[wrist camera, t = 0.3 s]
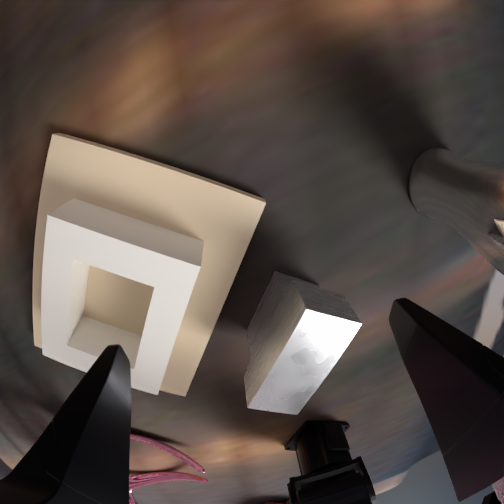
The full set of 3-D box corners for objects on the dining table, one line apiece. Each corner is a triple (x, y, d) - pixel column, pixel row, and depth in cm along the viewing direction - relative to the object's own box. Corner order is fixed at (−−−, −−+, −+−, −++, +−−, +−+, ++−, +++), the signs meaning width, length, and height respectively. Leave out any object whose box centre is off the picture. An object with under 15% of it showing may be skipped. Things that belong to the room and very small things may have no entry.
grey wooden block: (281, 352, 28) (297, 414, 21) (240, 342, 27) (247, 407, 20) (326, 269, 25) (362, 323, 18) (282, 254, 24) (306, 308, 17)
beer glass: (407, 230, 24) (534, 333, 11) (397, 149, 21) (559, 206, 8) (465, 210, 24) (587, 286, 10) (459, 136, 21) (605, 180, 7)
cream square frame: (186, 388, 29) (182, 428, 24) (38, 338, 25) (18, 371, 21) (263, 198, 22) (276, 221, 17) (60, 132, 18) (21, 139, 14)
